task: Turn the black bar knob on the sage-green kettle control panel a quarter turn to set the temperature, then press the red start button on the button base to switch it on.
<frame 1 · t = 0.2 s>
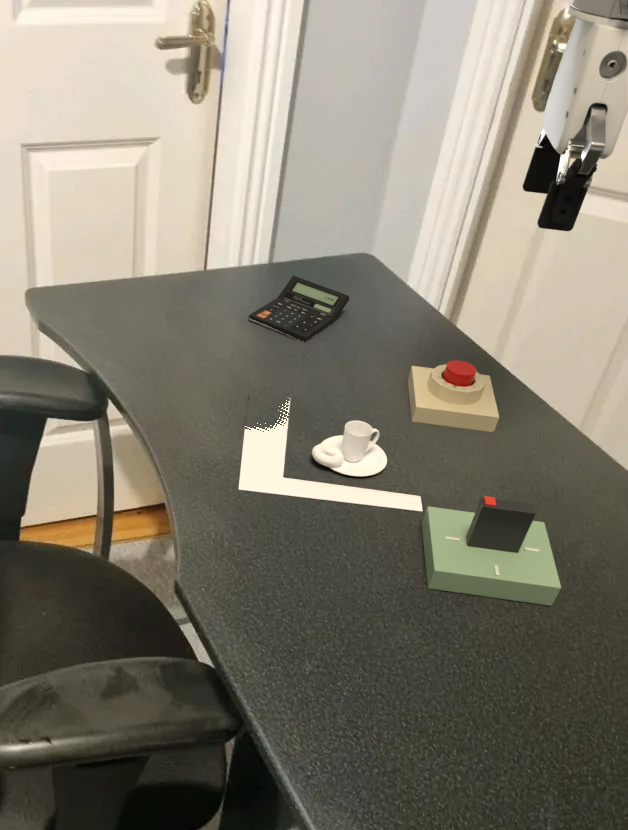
hand: (545, 209, 83), 27 cm above the table, tool pointing down, fingers open, 9 cm apart
start button: (459, 374, 104), point 4 cm above the table, slide at 0.1 cm
button base: (449, 405, 108), on the table
calculator: (297, 318, 122), on the table
teacup and saucer: (328, 449, 99), on the table
temp panel: (483, 563, 86), on the table
temp knob: (500, 524, 83), point 5 cm above the table, hinge at 0.0°
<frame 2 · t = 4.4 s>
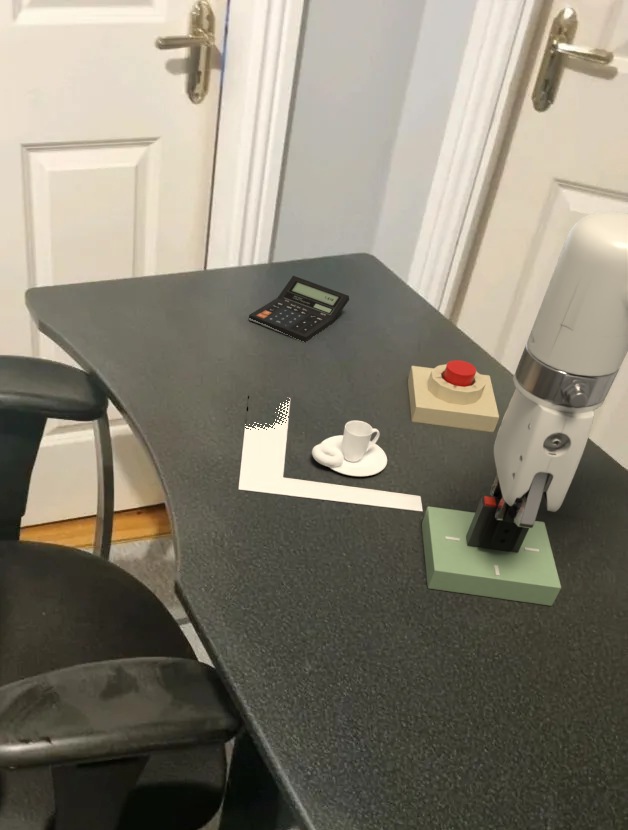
hand: (494, 539, 84), 3 cm above the table, tool pointing down, fingers closed on temp knob
temp knob: (500, 524, 83), point 5 cm above the table, hinge at 0.0°, touching gripper
everything else where it was.
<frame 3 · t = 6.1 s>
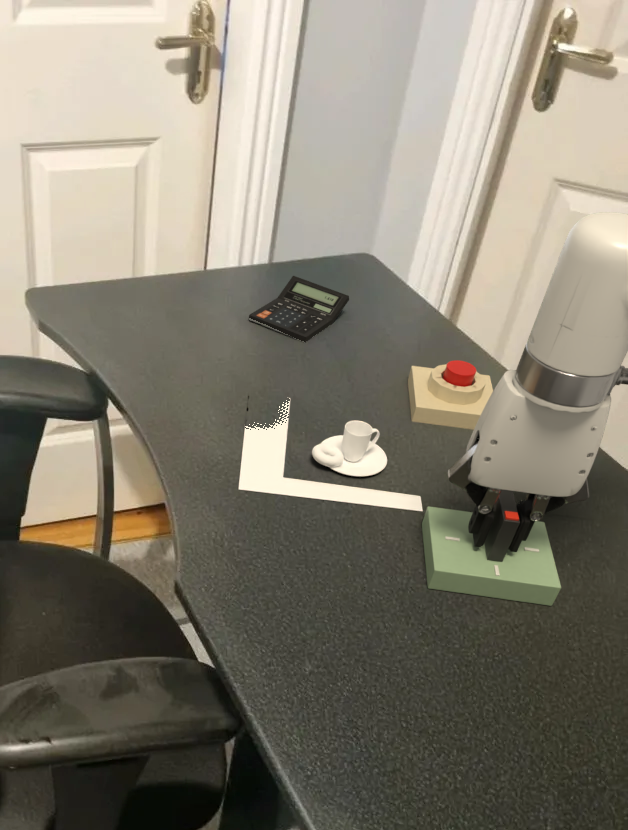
hand: (494, 539, 84), 3 cm above the table, tool pointing down, fingers closed
temp knob: (500, 524, 83), point 5 cm above the table, hinge at 89.8°
everything else where it was.
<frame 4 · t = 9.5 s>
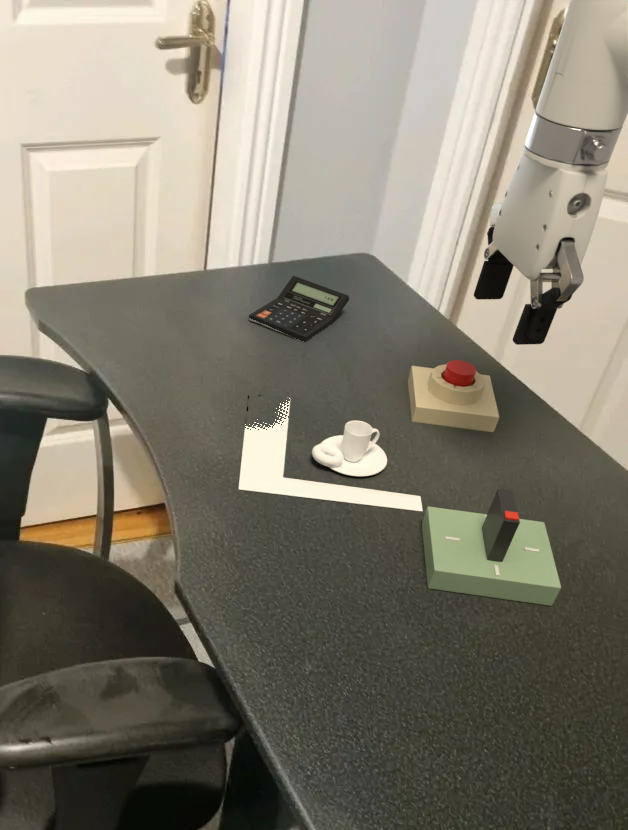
hand: (506, 319, 88), 17 cm above the table, tool pointing down, fingers open, 9 cm apart
nothing on the table moved.
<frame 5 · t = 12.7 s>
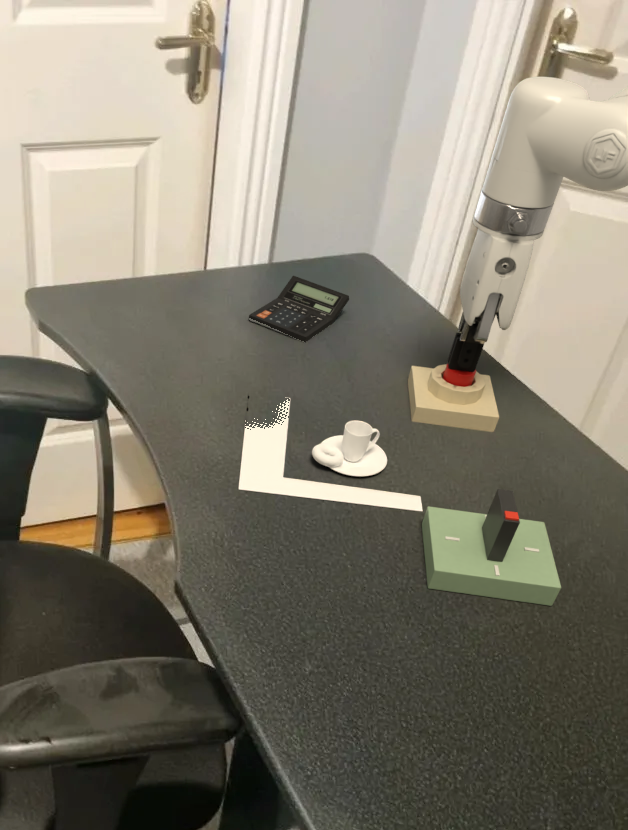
hand: (460, 367, 104), 5 cm above the table, tool pointing down, fingers closed
start button: (459, 374, 104), point 4 cm above the table, slide at 0.1 cm, touching gripper
everything else where it was.
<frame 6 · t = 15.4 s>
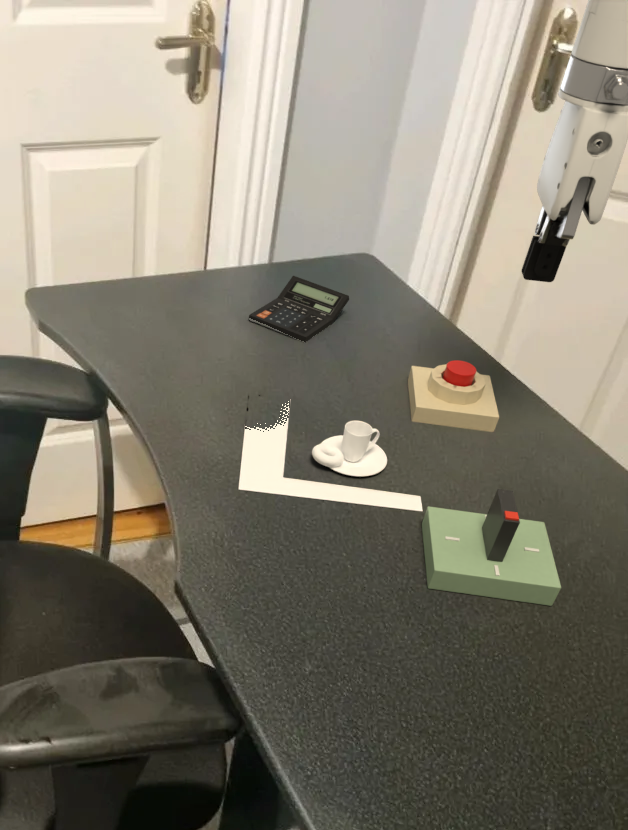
hand: (536, 277, 91), 19 cm above the table, tool pointing down, fingers closed
start button: (459, 374, 104), point 4 cm above the table, slide at 0.1 cm
everything else where it was.
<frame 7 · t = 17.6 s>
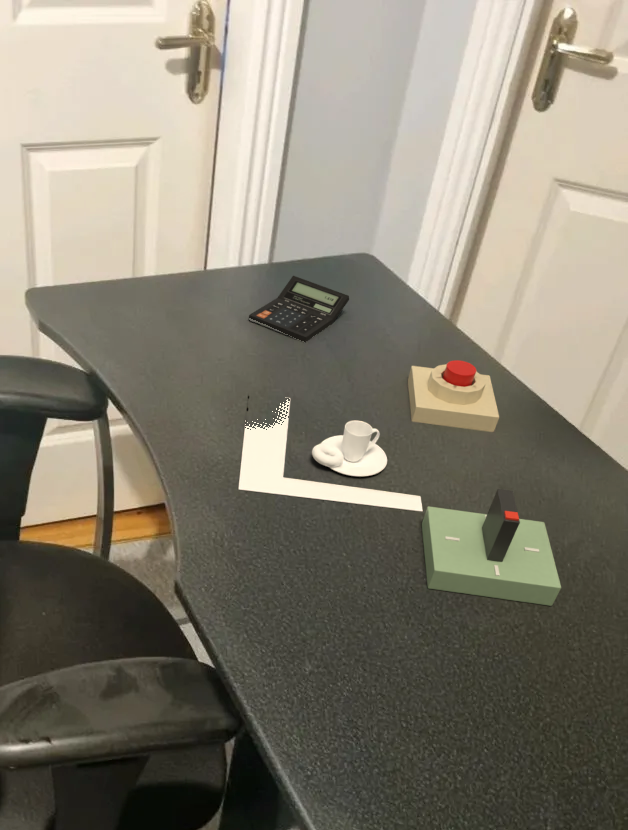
nothing on the table moved.
at the end: temp knob at +90° (first picture: +0°); start button pushed in 1.1 cm at the most during the clip, back to where it started at the end; start button slide at 0.1 cm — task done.
